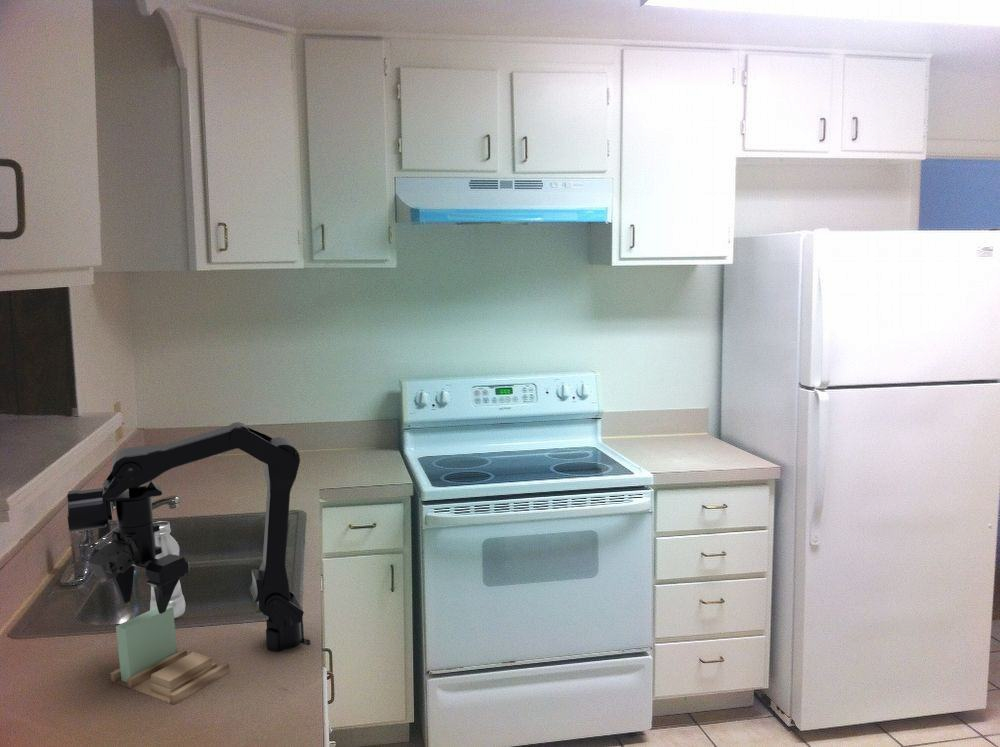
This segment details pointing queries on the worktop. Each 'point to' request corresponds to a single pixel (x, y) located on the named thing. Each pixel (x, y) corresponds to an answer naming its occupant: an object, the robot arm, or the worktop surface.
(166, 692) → the block
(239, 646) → the worktop surface
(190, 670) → the offcut top
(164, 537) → the plastic bottle
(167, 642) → the pale green square slab
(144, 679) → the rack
